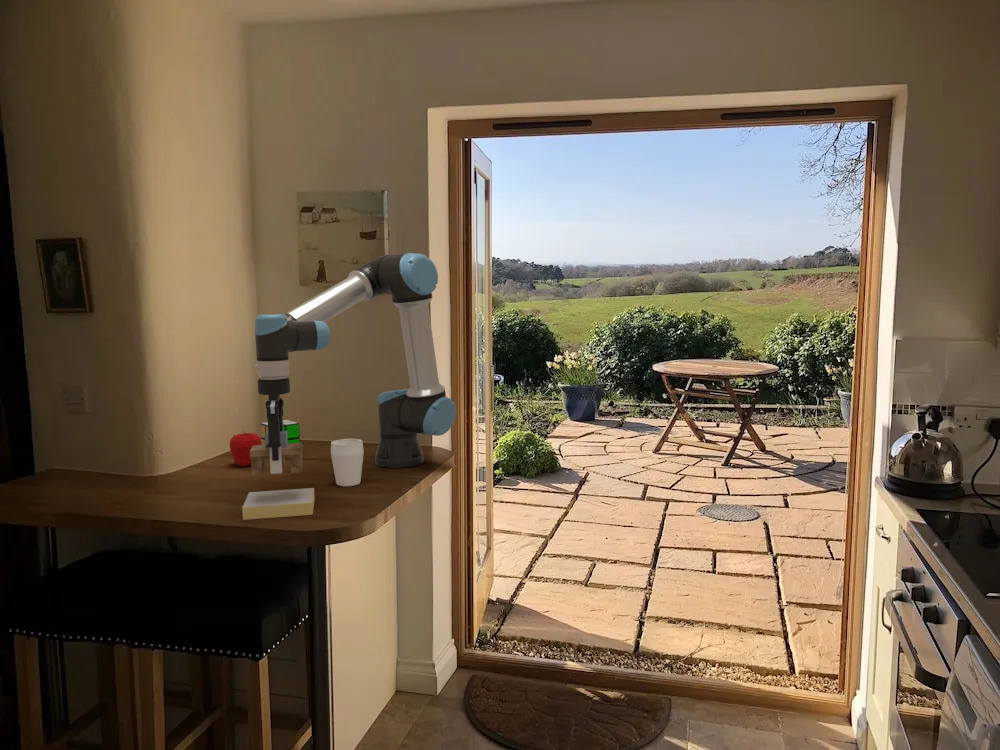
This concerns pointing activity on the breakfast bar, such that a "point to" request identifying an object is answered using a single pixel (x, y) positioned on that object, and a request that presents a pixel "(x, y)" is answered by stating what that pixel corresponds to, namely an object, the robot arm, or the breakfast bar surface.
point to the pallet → (292, 449)
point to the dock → (279, 503)
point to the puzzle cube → (288, 426)
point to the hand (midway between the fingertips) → (277, 469)
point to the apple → (243, 447)
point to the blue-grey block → (282, 439)
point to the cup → (347, 461)
